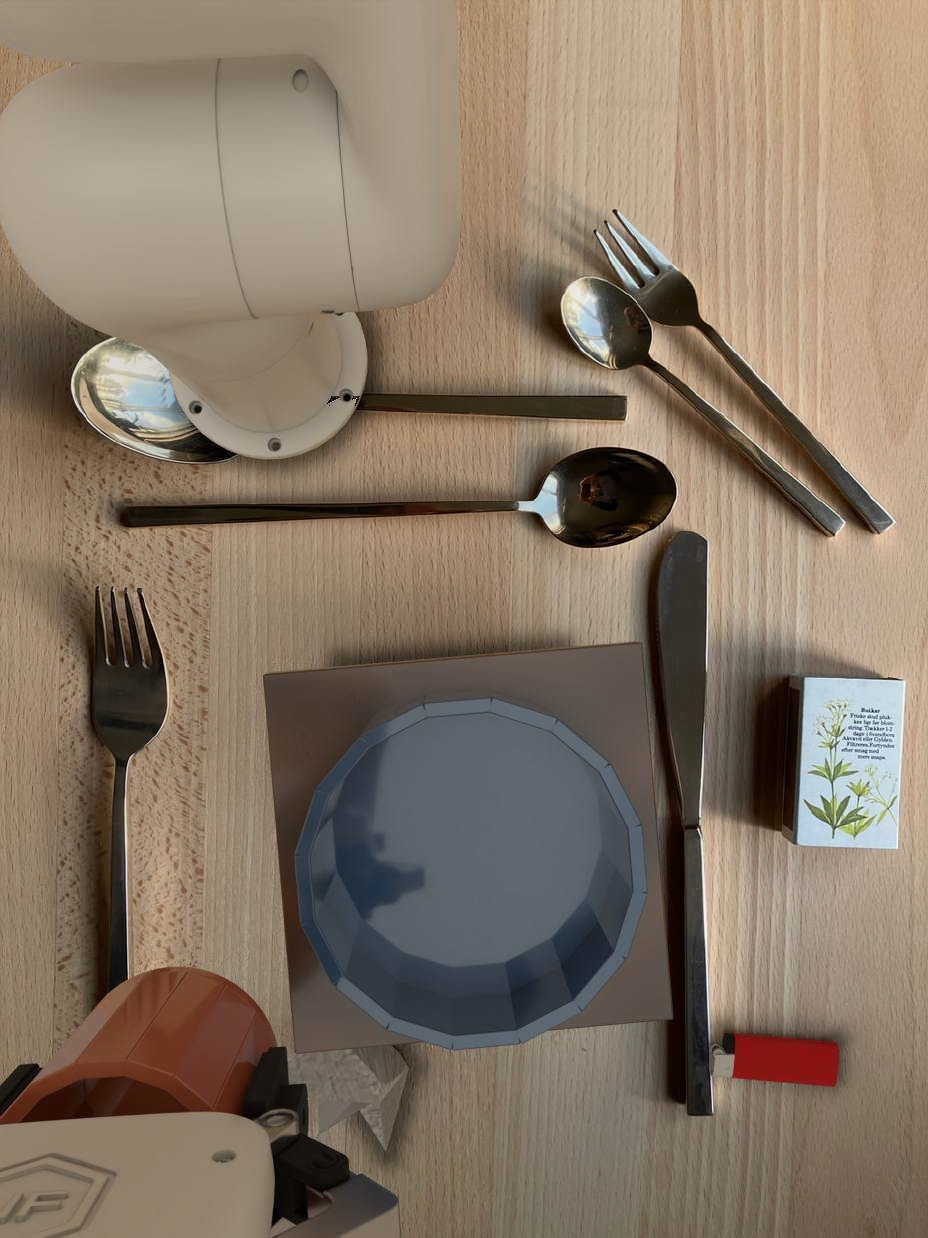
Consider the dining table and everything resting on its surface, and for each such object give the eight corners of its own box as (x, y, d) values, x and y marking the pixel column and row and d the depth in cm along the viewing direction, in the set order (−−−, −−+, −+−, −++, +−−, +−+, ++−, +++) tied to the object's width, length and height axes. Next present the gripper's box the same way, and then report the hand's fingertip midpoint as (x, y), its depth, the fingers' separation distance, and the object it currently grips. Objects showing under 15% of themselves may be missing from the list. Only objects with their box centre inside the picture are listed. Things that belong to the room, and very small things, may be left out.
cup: (69, 973, 36) (-29, 1069, 29) (273, 959, 36) (229, 1051, 29) (82, 1174, 36) (-12, 1324, 29) (286, 1160, 36) (245, 1305, 29)
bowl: (298, 704, 44) (282, 714, 40) (612, 677, 44) (631, 684, 40) (325, 1018, 44) (311, 1064, 40) (638, 990, 44) (660, 1032, 40)
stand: (326, 653, 68) (262, 674, 44) (572, 632, 68) (642, 642, 44) (347, 900, 68) (294, 1055, 44) (593, 878, 68) (673, 1020, 44)
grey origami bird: (468, 1086, 67) (391, 1227, 65) (411, 1043, 72) (338, 1173, 70) (339, 1017, 61) (248, 1171, 58) (287, 976, 66) (201, 1115, 63)
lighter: (835, 1091, 67) (711, 1080, 67) (828, 1082, 69) (706, 1071, 68) (840, 1047, 67) (716, 1036, 67) (832, 1039, 69) (710, 1028, 68)
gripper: (401, 1366, 16) (422, 965, 34) (-766, 1453, 16) (-124, 1002, 33) (431, 1850, 16) (437, 1197, 34) (-727, 1947, 16) (-108, 1236, 34)
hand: (157, 1103), depth 34 cm, fingers closed on cup, 7 cm apart
